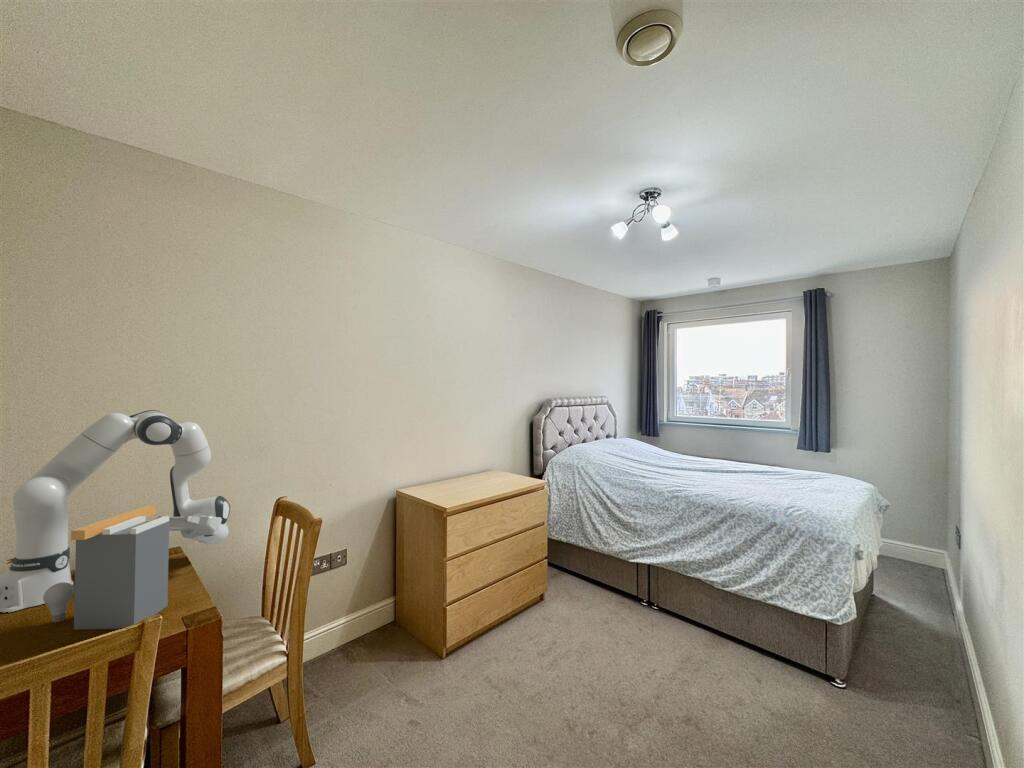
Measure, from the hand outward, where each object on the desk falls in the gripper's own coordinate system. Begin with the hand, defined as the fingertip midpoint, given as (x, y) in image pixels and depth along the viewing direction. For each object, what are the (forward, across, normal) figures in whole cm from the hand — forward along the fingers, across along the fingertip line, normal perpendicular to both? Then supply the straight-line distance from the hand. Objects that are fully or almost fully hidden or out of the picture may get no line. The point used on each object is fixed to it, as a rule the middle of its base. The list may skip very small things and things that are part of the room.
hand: (171, 518), depth 145 cm
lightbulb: (+11, -13, +31) cm, 35 cm away
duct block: (+9, +3, +30) cm, 32 cm away
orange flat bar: (+20, 0, +7) cm, 21 cm away
